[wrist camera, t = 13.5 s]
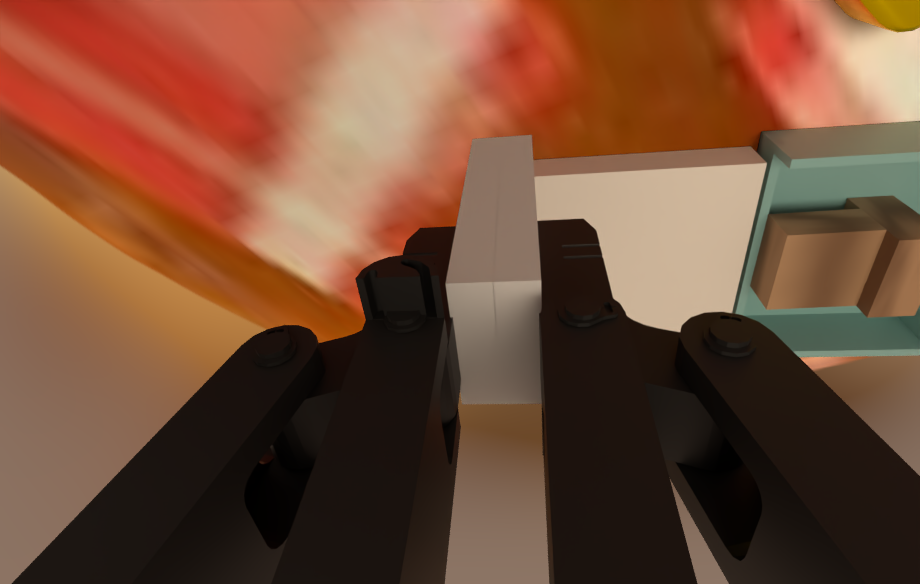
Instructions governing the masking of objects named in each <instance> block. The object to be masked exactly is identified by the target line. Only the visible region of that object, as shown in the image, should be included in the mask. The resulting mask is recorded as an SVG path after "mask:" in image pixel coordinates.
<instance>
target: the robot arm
mask: <svg viewBox="0 0 920 584" xmlns="http://www.w3.org/2000/svg"><path fill="white" fill-rule="evenodd" d="M356 283H357V287H358V291H359V294H360V298H361V302H362V306H363V310H364V314H365V318H366V321H365V324H364V327H363V330H362V331H360V332H358V333H355V334H352V335H349V336H346V337H343V338H339V339H335V340H330V341H326V342H322V343H318V340H317V337H316V335H315V334H314V333H313V332H312V331H311V330H310V329H308V328H305V327H302V326H299V325H283V326H279V327H274V328H271V329H267V330H265V331H263V332H261V333H259V334H257V335H255V336H253V337H252V338H250V339H249V340H248V341H247V342H246V343H244V344H243V345H241V347H240V348H239V349H238V350H237V351H236V352H235V353H234V354H233V355H232V356H231V357H230V358H229V359H228V360H227V361H226V362H225V363H224V364H223V365H222V366H221V367H220V369H218V370H217V371H216V372H215V374H214V375H213V376H212V377H211V378H210V379H209V380H208V381H207V382H206V383H205V384H204V385H203V386H202V387H201V388H200V389H199V390H198V391H197V392H196V393H195V394H194V395H193V396H192V397H191V398H190V399H189V400H188V402H187V403H186V404H185V405H184V406H183V407H182V408H181V409H180V410H179V411H178V412H177V413H176V414H175V415H174V416H173V417H172V418H171V419H170V420H169V421H168V422H167V423H166V424H165V425H164V426H163V427H162V428H161V429H160V430H159V431H158V433H157V434H156V435H155V436H154V437H153V438H152V439H151V440H150V441H149V442H148V443H147V444H146V445H145V446H144V447H143V448H142V449H141V450H140V451H139V452H138V453H137V454H136V455H135V456H134V458H132V459H131V460H130V462H129V463H128V464H127V465H126V466H125V467H124V468H123V469H122V470H121V471H120V472H119V473H118V474H117V475H116V476H115V477H114V478H113V479H112V480H111V481H110V482H109V483H108V484H107V485H106V486H105V487H104V488H103V490H102V491H101V492H100V493H99V494H98V495H97V496H96V497H95V498H94V499H93V500H92V501H91V502H90V503H89V504H88V505H87V506H86V507H85V508H84V509H83V510H82V511H81V512H80V513H79V514H78V516H77V517H76V518H75V519H74V520H73V521H72V522H71V523H70V524H69V525H68V526H67V527H66V528H65V529H64V530H63V531H62V532H61V533H60V534H59V535H58V536H57V537H56V538H55V540H53V541H52V542H51V543H50V545H48V547H47V548H46V549H45V550H44V551H43V552H42V553H41V554H40V555H39V556H38V557H37V558H36V559H35V560H34V561H33V562H32V563H31V564H30V565H29V566H28V567H27V568H26V569H25V571H23V572H22V573H21V575H19V577H18V578H17V579H16V580H15V581H14V582H13V583H12V584H445V574H446V564H447V555H448V545H449V535H450V526H451V525H450V524H451V516H452V506H453V496H454V487H455V476H456V468H457V458H458V447H459V439H460V429H461V426H460V420H459V412H458V402H459V393H460V392H461V399H462V404H542V440H543V455H544V476H545V496H546V497H545V498H546V520H547V541H548V561H549V562H548V563H549V583H550V584H697V581H696V577H695V573H694V569H693V565H692V562H691V558H690V554H689V551H688V546H687V543H686V539H685V536H684V531H683V528H682V524H681V520H680V516H679V512H678V509H677V505H676V501H675V497H674V493H673V490H672V486H671V482H670V479H671V481H672V483H673V485H674V486H675V488H676V490H677V492H678V494H679V495H680V497H681V499H682V501H683V502H684V504H685V506H686V508H687V510H688V511H689V513H690V515H691V517H692V518H693V520H694V522H695V524H696V526H697V527H698V529H699V531H700V533H701V535H702V536H703V538H704V540H705V541H706V543H707V545H708V547H709V549H710V551H711V552H712V554H713V556H714V558H715V560H716V561H717V563H718V565H719V566H720V568H721V570H722V572H723V574H724V576H725V577H726V579H727V581H728V582H729V584H920V476H919V475H918V474H917V473H916V472H915V471H914V470H913V469H912V468H911V467H910V466H909V465H908V464H907V463H906V462H905V461H904V460H903V459H902V458H901V457H900V456H899V455H898V454H897V453H896V452H895V451H894V450H893V449H892V448H891V447H890V446H889V445H888V444H887V443H886V442H885V441H884V440H883V439H882V438H880V437H879V436H878V435H877V434H876V433H875V432H874V431H873V430H872V429H871V428H870V427H869V426H868V425H867V424H866V423H865V422H864V421H863V420H862V419H861V418H860V417H859V416H858V415H857V414H856V413H855V412H854V411H853V410H852V409H851V408H850V407H849V406H848V405H847V404H846V403H845V402H844V401H843V400H842V399H841V398H840V397H839V396H838V395H837V394H836V393H835V392H834V391H833V390H832V389H831V388H830V387H828V385H827V384H826V383H825V382H824V381H823V380H821V379H820V378H819V377H818V376H817V375H816V374H815V373H814V372H813V371H812V370H811V369H810V368H809V367H808V366H807V365H806V364H805V363H804V362H803V361H802V360H801V359H800V358H799V357H798V356H797V355H796V354H795V353H794V352H793V351H792V350H791V349H790V348H789V347H788V346H787V345H786V344H785V343H784V342H783V341H782V340H781V339H780V338H779V337H778V336H777V335H776V334H775V333H774V332H773V331H771V330H770V329H768V328H767V327H766V326H764V325H763V324H761V323H760V322H758V321H756V320H753V319H751V318H748V317H746V316H743V315H740V314H734V313H728V312H705V313H702V314H699V315H696V316H693V317H690V318H689V319H688V320H687V321H686V322H685V323H684V324H683V325H682V326H681V331H680V332H676V331H670V330H665V329H660V328H655V327H651V326H647V325H644V324H641V323H639V322H637V321H634V320H632V319H631V318H629V317H628V316H626V312H625V311H624V309H623V307H622V306H621V304H620V303H619V302H618V301H616V300H615V299H613V296H612V292H611V288H610V283H609V279H608V275H607V271H606V267H605V263H604V259H603V258H602V251H601V247H600V243H599V239H598V235H597V231H596V229H595V228H594V227H592V226H591V225H590V224H589V223H588V222H587V221H586V220H584V219H563V220H542V221H537V209H536V194H535V179H534V164H533V149H532V135H524V136H509V137H494V138H480V139H473V140H472V145H471V150H470V156H469V161H468V166H467V172H466V177H465V182H464V188H463V193H462V198H461V204H460V209H459V214H458V220H457V225H456V226H454V227H433V228H420V229H419V230H418V231H417V232H415V233H414V234H413V235H412V236H411V237H410V238H409V239H408V240H407V242H406V245H405V248H404V251H403V255H400V256H393V257H388V258H385V259H382V260H379V261H376V262H374V263H372V264H371V265H369V266H367V267H366V268H364V269H363V270H362V271H361V272H360V274H359V275H358V276H357V277H356ZM669 477H670V478H669Z"/></svg>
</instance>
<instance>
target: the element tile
mask: <svg viewBox="0 0 920 584" xmlns="http://www.w3.org/2000/svg"><path fill="white" fill-rule="evenodd" d="M835 2H836V3H837V4H838V5H839V6H840V7H841V9H842V10H843V11H844V12H845V13H846V14H847V15H849V16H850V17H852V18H854V19H857V20H860V21H863V22H866V23H869V24H872V25H875V26H878V27H881V28H884V29H887V30H891V31H894V32H905V31H913V30H915V29H917V28H920V0H835Z"/></svg>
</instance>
